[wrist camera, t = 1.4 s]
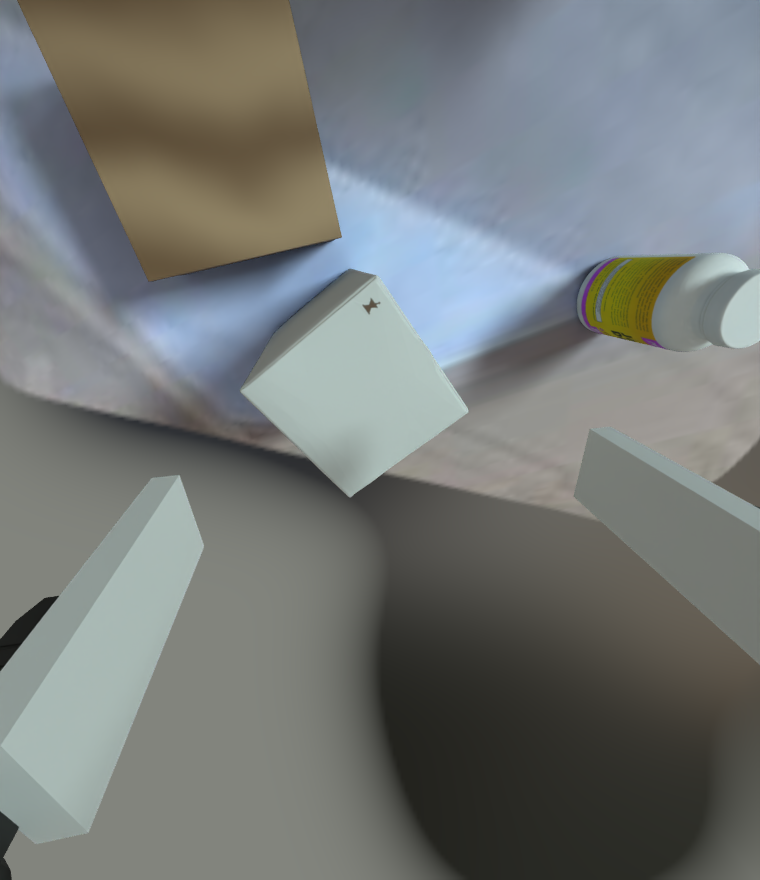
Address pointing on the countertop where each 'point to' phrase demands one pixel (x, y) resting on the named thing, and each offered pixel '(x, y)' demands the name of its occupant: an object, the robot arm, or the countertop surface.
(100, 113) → the walnut box
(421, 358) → the supplement box
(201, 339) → the countertop surface
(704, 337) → the supplement bottle
